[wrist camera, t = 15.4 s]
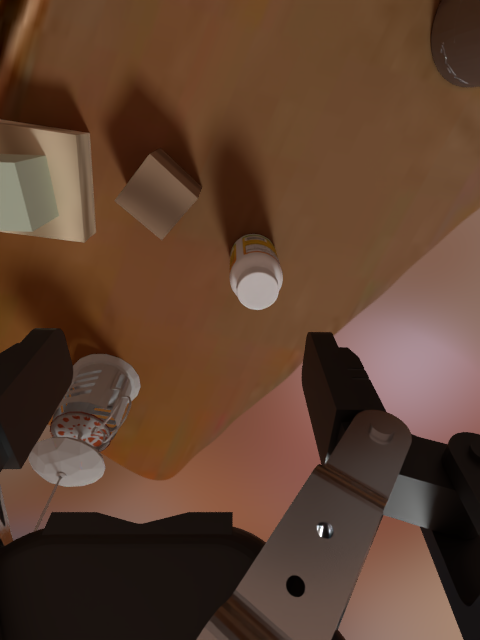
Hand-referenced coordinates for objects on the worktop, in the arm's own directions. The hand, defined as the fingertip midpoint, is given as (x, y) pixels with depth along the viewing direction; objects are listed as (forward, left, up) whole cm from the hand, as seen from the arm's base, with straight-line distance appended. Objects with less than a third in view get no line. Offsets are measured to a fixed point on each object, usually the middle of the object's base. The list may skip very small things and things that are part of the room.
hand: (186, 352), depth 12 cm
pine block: (+12, -14, -30) cm, 36 cm away
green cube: (+12, -14, -26) cm, 32 cm away
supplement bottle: (+3, +8, -30) cm, 31 cm away
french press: (+30, +6, -30) cm, 43 cm away
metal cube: (+4, -4, -30) cm, 31 cm away
